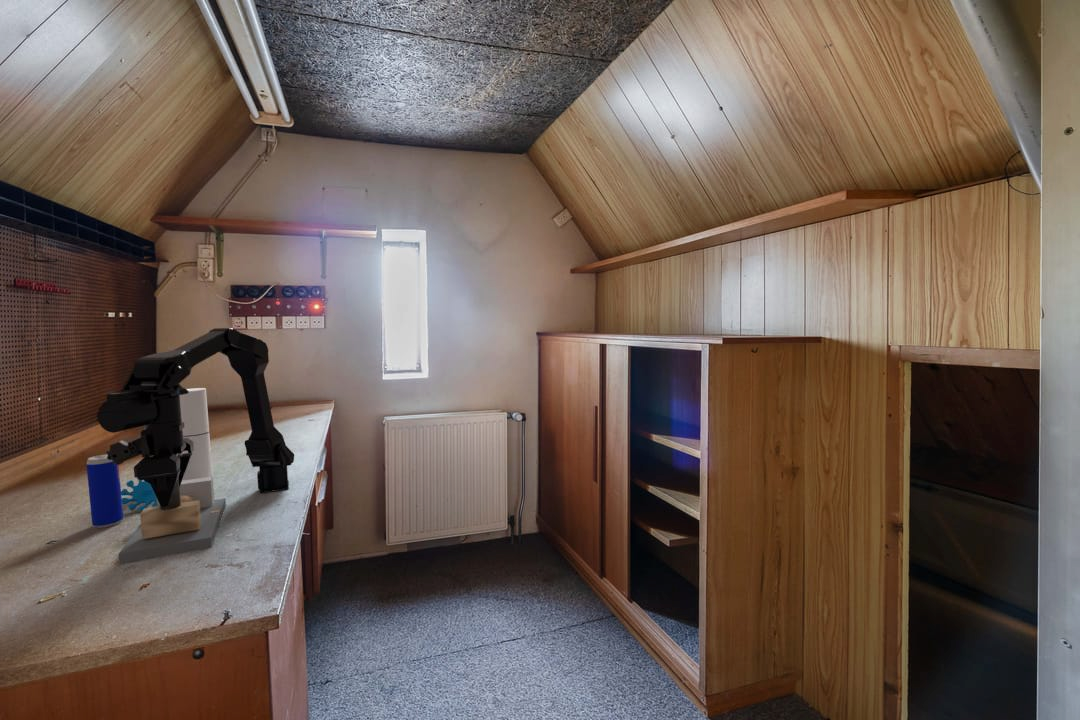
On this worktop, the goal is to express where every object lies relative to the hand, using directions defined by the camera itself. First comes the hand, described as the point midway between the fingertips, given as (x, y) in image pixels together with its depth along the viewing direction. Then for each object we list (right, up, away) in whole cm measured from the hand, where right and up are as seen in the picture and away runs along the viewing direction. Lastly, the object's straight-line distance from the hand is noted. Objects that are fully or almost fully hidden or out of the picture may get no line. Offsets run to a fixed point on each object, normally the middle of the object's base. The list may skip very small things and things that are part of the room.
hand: (170, 498), depth 97 cm
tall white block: (-25, -6, +43) cm, 50 cm away
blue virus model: (-20, -8, +21) cm, 30 cm away
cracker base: (-3, -9, +6) cm, 11 cm away
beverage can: (-22, -9, +11) cm, 26 cm away
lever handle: (0, -7, 0) cm, 7 cm away
